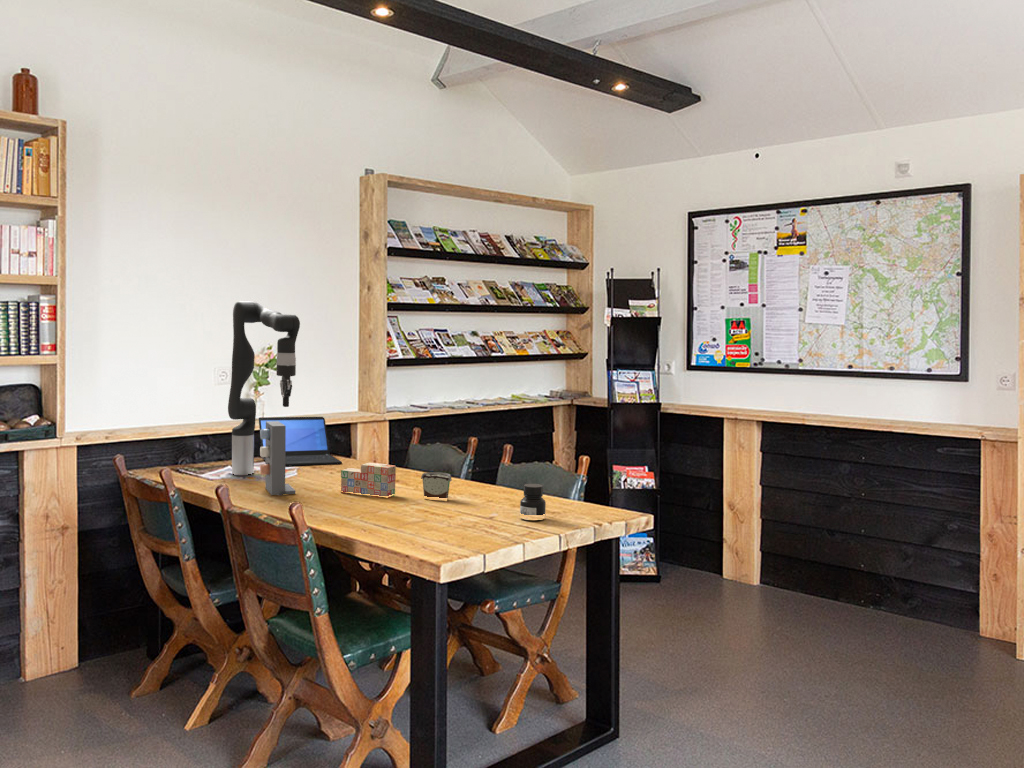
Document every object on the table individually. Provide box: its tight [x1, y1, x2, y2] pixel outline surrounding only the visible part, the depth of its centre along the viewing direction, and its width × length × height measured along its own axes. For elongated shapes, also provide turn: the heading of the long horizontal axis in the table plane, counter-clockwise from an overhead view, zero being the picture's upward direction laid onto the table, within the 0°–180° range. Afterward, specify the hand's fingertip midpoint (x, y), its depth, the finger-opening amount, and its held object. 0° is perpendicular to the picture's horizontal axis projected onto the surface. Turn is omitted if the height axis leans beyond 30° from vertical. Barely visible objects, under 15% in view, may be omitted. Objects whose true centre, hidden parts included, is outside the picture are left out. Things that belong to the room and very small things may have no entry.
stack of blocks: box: [340, 462, 397, 496], centre depth 348 cm, size 21×6×12 cm, turn 67°
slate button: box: [259, 429, 270, 440], centre depth 346 cm, size 4×4×4 cm
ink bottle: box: [519, 483, 547, 515], centre depth 311 cm, size 10×9×12 cm
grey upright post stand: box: [264, 421, 297, 496], centre depth 349 cm, size 16×9×27 cm, turn 24°
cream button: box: [259, 446, 270, 458], centre depth 347 cm, size 4×4×4 cm
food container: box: [420, 471, 453, 499], centre depth 342 cm, size 12×6×10 cm, turn 71°
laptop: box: [258, 416, 343, 467], centre depth 428 cm, size 33×38×19 cm
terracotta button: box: [259, 463, 270, 476], centre depth 347 cm, size 4×4×4 cm
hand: (285, 406), depth 359 cm, fingers closed
